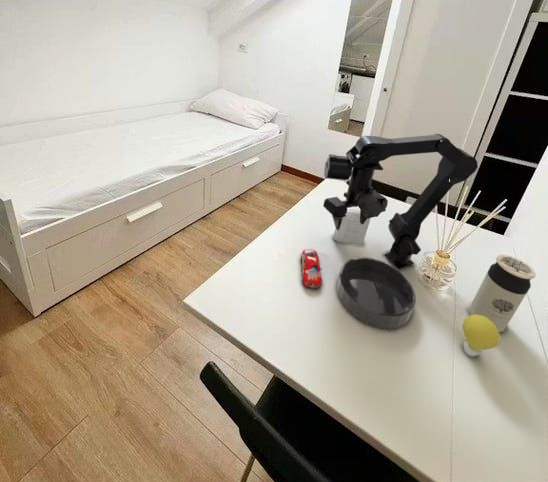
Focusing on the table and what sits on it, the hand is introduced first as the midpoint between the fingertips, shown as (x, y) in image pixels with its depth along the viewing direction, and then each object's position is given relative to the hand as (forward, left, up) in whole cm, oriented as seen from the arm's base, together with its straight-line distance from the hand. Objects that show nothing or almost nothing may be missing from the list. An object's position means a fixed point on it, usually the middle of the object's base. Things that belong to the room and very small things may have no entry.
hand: (349, 226), depth 88 cm
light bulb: (-9, +36, -11) cm, 39 cm away
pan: (+2, +16, -11) cm, 19 cm away
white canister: (-22, +32, -11) cm, 40 cm away
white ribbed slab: (-6, -5, -11) cm, 14 cm away
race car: (+14, +3, -11) cm, 18 cm away
